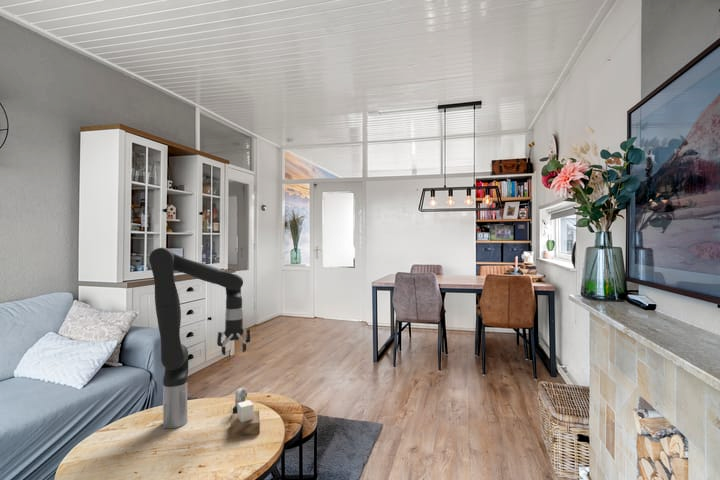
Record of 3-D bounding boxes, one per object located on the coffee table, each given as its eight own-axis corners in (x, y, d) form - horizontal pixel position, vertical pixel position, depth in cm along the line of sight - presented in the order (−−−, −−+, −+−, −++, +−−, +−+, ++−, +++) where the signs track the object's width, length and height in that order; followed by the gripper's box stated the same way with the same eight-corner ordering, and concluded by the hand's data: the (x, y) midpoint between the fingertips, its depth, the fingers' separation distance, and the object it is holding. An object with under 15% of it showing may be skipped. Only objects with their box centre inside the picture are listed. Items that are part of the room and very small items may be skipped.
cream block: (241, 422, 150) (241, 407, 150) (237, 417, 154) (237, 403, 154) (253, 418, 153) (253, 404, 153) (249, 414, 157) (249, 400, 157)
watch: (249, 409, 172) (249, 385, 172) (243, 417, 164) (243, 392, 164) (237, 409, 172) (237, 385, 172) (231, 417, 164) (230, 392, 164)
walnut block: (230, 438, 147) (230, 426, 147) (232, 425, 158) (232, 413, 158) (259, 434, 150) (259, 422, 150) (259, 422, 161) (259, 410, 161)
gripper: (247, 314, 178) (247, 349, 177) (216, 317, 171) (216, 353, 170) (251, 317, 171) (251, 353, 171) (219, 320, 164) (218, 357, 164)
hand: (233, 353), depth 171 cm, fingers open, 8 cm apart
